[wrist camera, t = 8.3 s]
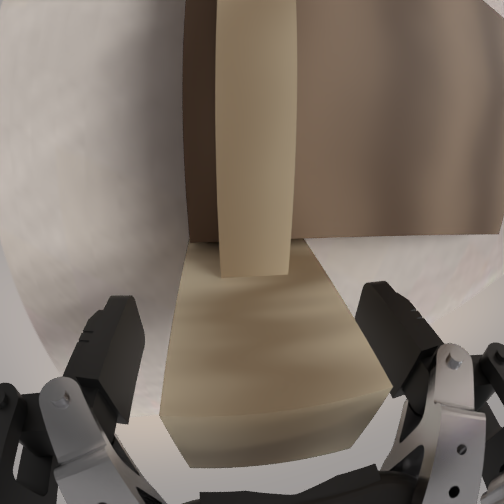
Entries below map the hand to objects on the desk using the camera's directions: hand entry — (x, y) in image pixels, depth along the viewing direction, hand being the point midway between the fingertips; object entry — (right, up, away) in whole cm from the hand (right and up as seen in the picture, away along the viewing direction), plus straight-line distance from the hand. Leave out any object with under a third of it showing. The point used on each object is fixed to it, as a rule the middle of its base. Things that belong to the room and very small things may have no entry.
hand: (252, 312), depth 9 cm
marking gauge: (0, +6, +1) cm, 6 cm away
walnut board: (+6, +10, 0) cm, 12 cm away
